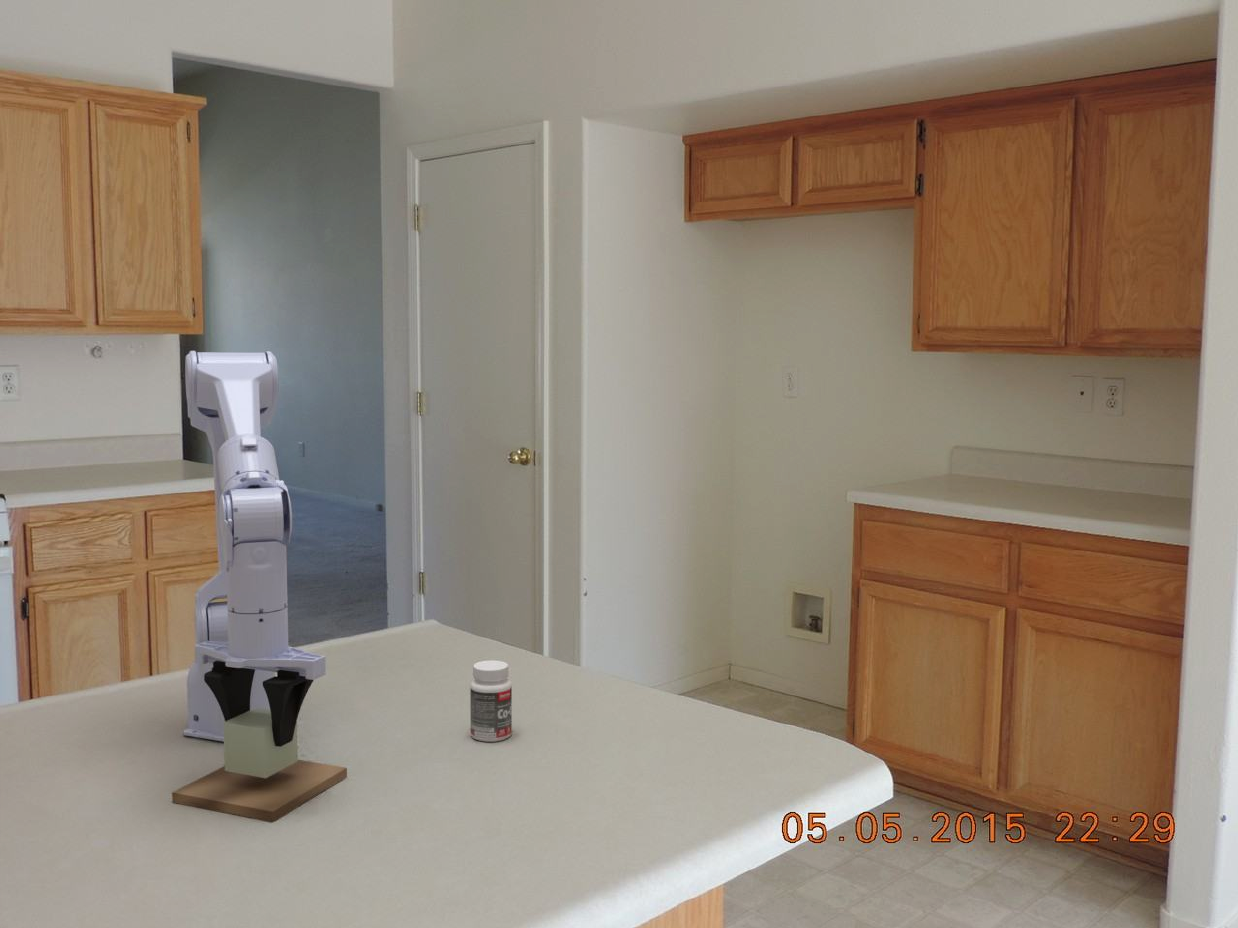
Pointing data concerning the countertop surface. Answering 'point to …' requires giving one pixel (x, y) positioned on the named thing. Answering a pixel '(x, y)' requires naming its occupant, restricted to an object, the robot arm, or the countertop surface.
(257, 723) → the sage cube
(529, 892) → the countertop surface
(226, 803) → the walnut pad
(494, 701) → the pill bottle
